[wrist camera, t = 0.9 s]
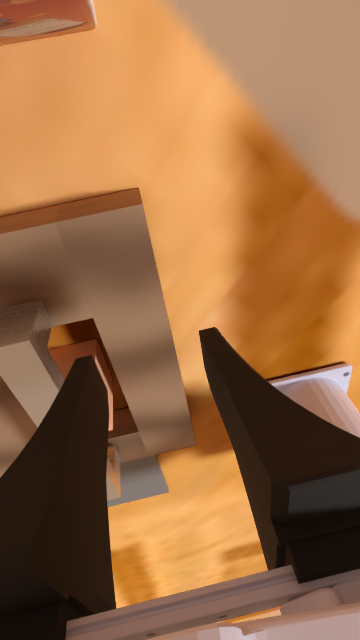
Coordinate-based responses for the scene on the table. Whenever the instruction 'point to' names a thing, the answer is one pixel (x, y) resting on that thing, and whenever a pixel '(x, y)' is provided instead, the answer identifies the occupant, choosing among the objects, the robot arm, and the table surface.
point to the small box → (44, 19)
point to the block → (69, 353)
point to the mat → (140, 480)
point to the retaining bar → (38, 370)
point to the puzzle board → (99, 314)
